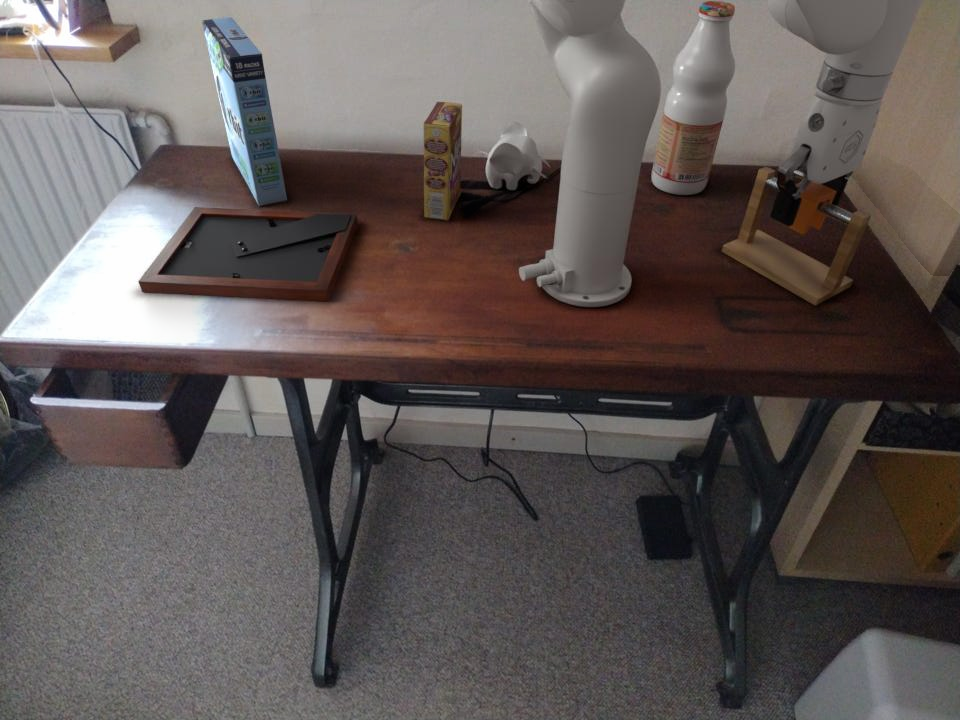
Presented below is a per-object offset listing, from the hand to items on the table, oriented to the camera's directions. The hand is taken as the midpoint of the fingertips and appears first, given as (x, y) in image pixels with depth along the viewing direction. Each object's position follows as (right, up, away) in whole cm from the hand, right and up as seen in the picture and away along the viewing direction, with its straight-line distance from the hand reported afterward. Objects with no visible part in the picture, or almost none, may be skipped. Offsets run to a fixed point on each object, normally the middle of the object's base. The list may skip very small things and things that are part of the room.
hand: (803, 211), depth 92 cm
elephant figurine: (-38, +10, +25) cm, 46 cm away
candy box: (-49, +5, +18) cm, 53 cm away
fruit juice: (-10, +10, +25) cm, 29 cm away
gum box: (-81, +11, +24) cm, 85 cm away
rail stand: (0, -7, +6) cm, 9 cm away
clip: (0, -2, +1) cm, 2 cm away
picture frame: (-75, -5, +6) cm, 76 cm away
